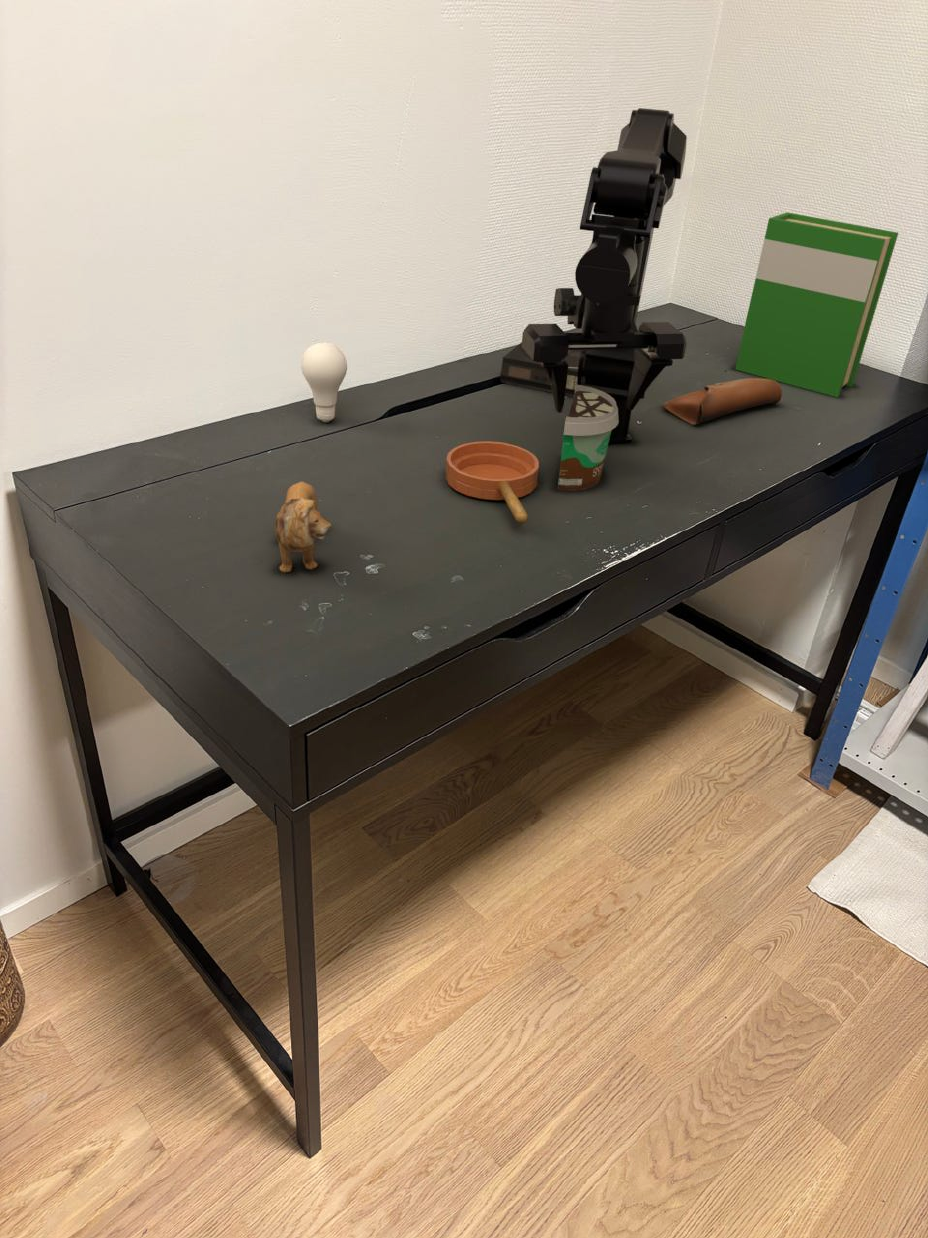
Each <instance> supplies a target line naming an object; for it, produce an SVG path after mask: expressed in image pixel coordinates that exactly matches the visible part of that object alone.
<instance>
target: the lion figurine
mask: <svg viewBox="0 0 928 1238" xmlns="http://www.w3.org/2000/svg"><path fill="white" fill-rule="evenodd" d="M331 526H332V524H331V523H330V522H329V521H327V520H325V518H323V517H322V516H321V513H320V512H319V504H318V498H317V493H316V491H315V488H314V487H313V486H312V485H311V484H309V483H306V482H305V481H299V482H296V483H294V484H292V485H290V487H288V490H287V492H286V495H285V503H284V504H283V505H281V509H280V510H279V512H278V513H277V516H276V518H275V523H274V529H275V533H276V539H277V542H278V548H279V551H280V556H281V561H282V562H281V564H280V565H279V571H280V572H282V573H290V572H291V571H292V568H293V562H292V558H291V553H294V552H295V553H302V552H303V556H302V557H303V559H302V562H303V564H304V566H305V567H304V568H306V569H307V570H313V569H316V568H317V567H318V563H317V562H316V561H315V560H314V549H315V542H316V541H315V540H316V538H317V539H319V540H324V539H325V536H326V533H327V532H328V530H329V528H330V527H331ZM290 552H291V553H290Z"/></svg>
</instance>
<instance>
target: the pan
mask: <svg viewBox="0 0 928 1238" xmlns="http://www.w3.org/2000/svg"><path fill="white" fill-rule="evenodd" d="M445 462H446V463H445V480H446V482H447V484H448V486H450V488H452V489H453V490H455V491H456V492H458V493H460V494H463V495H465V496H467V497H471V498H476V499H479V500H486V501H487V500H488V501H505V499H504V498H503V496H502V494H501V492H500V490H499V484H500V483H501V482H503V481H506V482H508V483H509V484H510V486H511V487H512V489H513V491H514V493H515V494H516V496H517V498H518V499H519V498H522V497H526V496H527V495H529V494H531V493H532V492H534V490H535V489H536V487H537V486H538V479H539V478H538V477H539V468H540V461H539V459H538V458H537V456H536V455H535V454H534V453H532V452H531V451H529V450H528V449H525V448H523V447H521V446H518V445H515V444H511V443H506V442H501V441H500V442H499V441H490V440H489V441H487V440H485V441H484V440H483V441H474V442H468V443H462V444H460V445H458V446H455V447H454V448H452V449H451V450H450V451H449V452H448V453H447V456H446V461H445Z"/></svg>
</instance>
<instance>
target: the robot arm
mask: <svg viewBox="0 0 928 1238" xmlns="http://www.w3.org/2000/svg"><path fill="white" fill-rule="evenodd" d="M674 121H675V114H674V113H670V111H669V110H664V109H656V108H655V109H653V108H644V107H643V108H642V107H638V108H637V109H632V110H631V114H630V118H629V122H628V123H627V124H626V125H625V126H624V127H622V128H621V130H620V134H619V138H618V144H617V149H616V150H612V151H607V152H605V153H604V154H603V156H601V158H600V159H599V162H598V164H597V166H593V167H592V169H591V171H590V176H589V180H588V185H587V190H586V194H585V200H584V204H583V209H582V214H581V219H580V224H579V230H580V231H589V232H593V233H592V239H591V243H590V245H589V247H588V248H587V250H586V251H585V252H584V254H583V255H582V256H581V258H580V259H579V261H578V263H577V265H576V267H575V273H574V275H575V283H576V287H577V289H578V291H579V292H580V295H579V294H578V295H575V289H574V288H573V287H559V288H555V291H554V297H553V315H554V317H567V322H566V323H567V325H573V326H574V328H575V329H578V330H579V329H580V332H565V331H564V330H563V329H562V328H561V327H560V326H559V325H558V323H528V324H527V326H526V327H525V328H524V329H523V331H522V335H521V342H522V347H523V349H524V350H525V351H526V352H527V354H528V355H529V356H530V357H531V359H532V360H533V361H536V362H539V363H540V364H541V366H542V367H543V368H545V369H546V371H547V373H548V376H549V380H550V384H551V389H552V392H551V393H552V397H553V401H554V407H555V411H556V412H557V413H558V414H561V413H563V409H564V406H565V399H566V395H565V392H566V384H567V375H568V367H569V364H568V363H567V362H566V361H565V360H564V358H565V357H566V356H567V355H568V350H582V351H581V354H580V359H579V365H578V377H577V385H582V386H587V387H591V388H595V389H598V390H600V391H603V392H605V393H607V394H608V395H610V396H611V397H612V398H613V399H614V400H615V401H616V405H617V408H618V419H619V423H618V425H617V426H616V427H615V428H614V429H612V430H611V434H610V439H609V443H608V444H616V443H618V444H620V443H631V442H632V441H633V437H632V436H631V435H630V434H629V429H630V422H631V416H632V411H633V410H634V409H635V408H636V406H637V404H638V403H639V402H640V400H643V399H645V396H646V395H645V394H646V391H648V389H649V387H650V386H651V385H652V383H653V382H654V381H655V380H656V379H657V377H658V376H659V375H660V374H661V372H662V371H664V369H665V368H666V367H671V366H673V363H674V360H682V359H684V358H685V354H686V349H687V340H686V339H687V338H686V336H685V335H684V333H683V332H682V331H680V330H679V329H678V328H676V327H675V326H674V325H673V324H671V323H670V322H669V321H647V322H646V321H643V322H641V324H640V325H639V326H638V327H637V325H636V324H637V319H638V313H639V308H640V303H641V297H642V294H643V293H642V292H643V287H644V281H645V277H646V271H647V267H648V266H647V265H648V263H649V256H650V251H651V245H652V241H653V236H654V230H655V229H660V224H661V220H662V215H663V211H664V207H665V206H666V204H667V203H668V202H669V201H670V200H671V199H672V197H673V196H674V190H675V185H676V182H677V180H681V179H682V177H683V172H684V167H685V161H686V154H687V153H686V152H687V142H688V141H687V139H688V136H687V135H686V134H685V132H683V130H681V128H679V127H678V125H676V123H675V122H674ZM592 212H593V213H592Z"/></svg>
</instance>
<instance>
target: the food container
mask: <svg viewBox="0 0 928 1238" xmlns="http://www.w3.org/2000/svg"><path fill="white" fill-rule="evenodd" d="M564 421H565V422H564V430H563V437H562V438H563V439H562V447H561V454H560V455H561V456H560V463H559V472H558V479H557V480H558V481H557V488H556V489H557V491H566V492H568V491H569V492H570V491H571V492H573V491H574V492H575V491H581V490H589V489H591V488H593V487H595V486H597V485H598V484H599V483H600V481H601V476H602V473H603V468H604V465H605V460H606V456H607V452H608V447H609V444H610V443H609V439H610V434H611V430H612V429H614V428H615V427H616V426H617V425H618V423H619V419H618V408H617V405H616V401H615V400H614V399H613V398H612V397H611V396H610V395H608V394H607V393H605V392H603V391H600V390H598V389H595V388H591V387H587V386H582V385H576V386H575V394H574V397H573V400H572V403H571V405H570V410H569V413H568V416H565V420H564Z"/></svg>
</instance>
